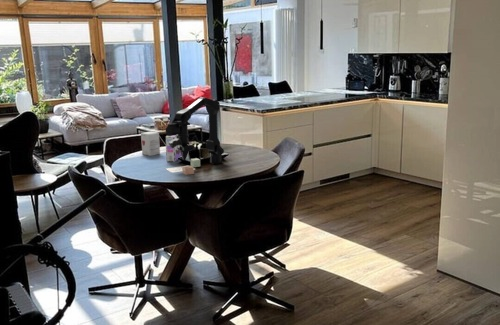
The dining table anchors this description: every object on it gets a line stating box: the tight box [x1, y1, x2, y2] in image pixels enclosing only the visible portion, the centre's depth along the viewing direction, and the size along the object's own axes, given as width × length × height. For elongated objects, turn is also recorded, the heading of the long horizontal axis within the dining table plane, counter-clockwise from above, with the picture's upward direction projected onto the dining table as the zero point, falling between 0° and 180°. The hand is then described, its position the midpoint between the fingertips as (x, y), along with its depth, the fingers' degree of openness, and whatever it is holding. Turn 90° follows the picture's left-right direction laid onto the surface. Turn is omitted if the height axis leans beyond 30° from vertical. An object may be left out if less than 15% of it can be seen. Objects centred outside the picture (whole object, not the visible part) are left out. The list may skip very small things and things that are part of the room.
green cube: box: [190, 157, 201, 168], centre depth 286 cm, size 4×4×4 cm
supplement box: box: [140, 130, 161, 157], centre depth 322 cm, size 9×9×15 cm
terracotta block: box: [181, 165, 195, 176], centre depth 269 cm, size 5×5×4 cm
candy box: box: [164, 135, 182, 163], centre depth 304 cm, size 14×6×16 cm, turn 169°
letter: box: [165, 165, 186, 174], centre depth 280 cm, size 15×11×1 cm
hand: (184, 160), depth 273 cm, fingers closed
